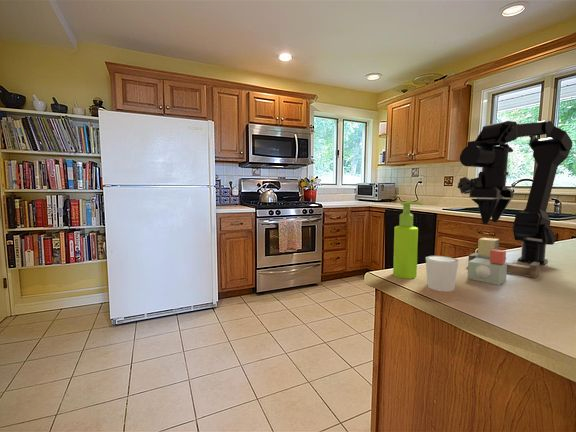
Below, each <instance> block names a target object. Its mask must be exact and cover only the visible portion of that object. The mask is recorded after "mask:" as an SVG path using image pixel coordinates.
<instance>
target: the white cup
mask: <svg viewBox="0 0 576 432" xmlns="http://www.w3.org/2000/svg"><path fill="white" fill-rule="evenodd" d="M459 261H460V260H458V259H457V258H454V257H450V256H445V255H444V256H443V255H429V256H425V266H426V268H425V269H426V281H427V282H426V283H427V287H428V288H429V289H431V290H433V291H437V292H446V293H447V292H453V291H455V286H456V280H457V279H456V278H457V273H458V267H459Z"/></svg>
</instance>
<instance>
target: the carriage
mask: <svg viewBox="0 0 576 432" xmlns="http://www.w3.org/2000/svg"><path fill="white" fill-rule="evenodd" d="M477 243H478V245H477V253H478V254H477V255H475V258H482V259H488V260H490V251H491V250H493V249H497V250H500V249H499V246H500V239H499V238H491V237H481V238H479V239H478V241H477Z"/></svg>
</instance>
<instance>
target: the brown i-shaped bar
mask: <svg viewBox="0 0 576 432" xmlns="http://www.w3.org/2000/svg"><path fill="white" fill-rule="evenodd" d="M477 254H478V252H477V253H476V252H473V253H470V254H468V258H467V259H468V261H471V260H473V259H475V255H477ZM540 265H541V264H540V262H533V263H530V264H529V265H525V264H517V263H511V262H507V273H508V274H515V275H519V276H526V277H528V278H531V279H536V278H538V276H539V275H540V267H541V266H540Z"/></svg>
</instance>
